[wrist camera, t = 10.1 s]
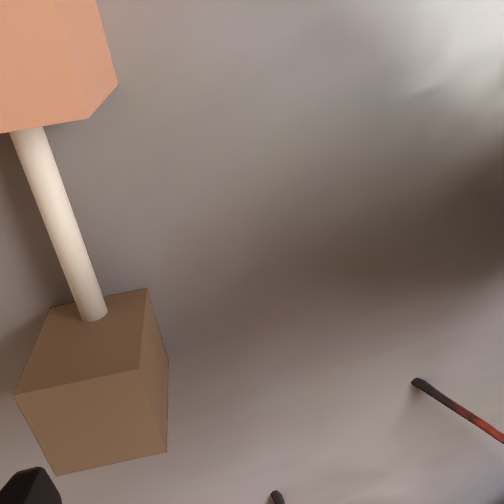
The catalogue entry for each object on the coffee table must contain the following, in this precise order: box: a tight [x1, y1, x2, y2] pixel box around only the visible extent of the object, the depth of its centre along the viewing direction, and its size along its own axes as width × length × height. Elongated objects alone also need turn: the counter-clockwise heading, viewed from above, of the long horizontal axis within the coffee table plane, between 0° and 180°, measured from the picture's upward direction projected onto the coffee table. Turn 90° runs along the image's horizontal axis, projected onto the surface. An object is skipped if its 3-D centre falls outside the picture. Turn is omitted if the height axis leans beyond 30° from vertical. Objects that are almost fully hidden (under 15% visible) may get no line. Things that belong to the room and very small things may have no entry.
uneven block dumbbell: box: [0, 0, 169, 476], centre depth 14 cm, size 18×6×6 cm, turn 8°
